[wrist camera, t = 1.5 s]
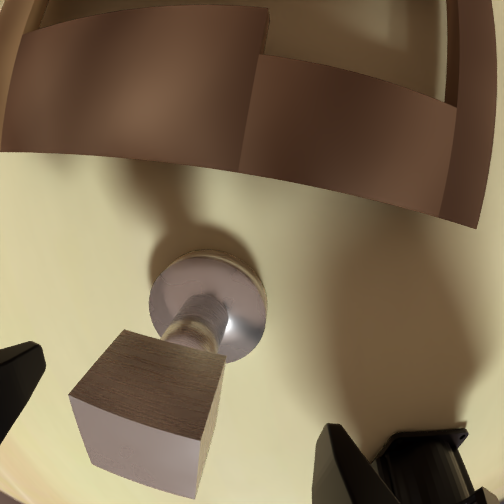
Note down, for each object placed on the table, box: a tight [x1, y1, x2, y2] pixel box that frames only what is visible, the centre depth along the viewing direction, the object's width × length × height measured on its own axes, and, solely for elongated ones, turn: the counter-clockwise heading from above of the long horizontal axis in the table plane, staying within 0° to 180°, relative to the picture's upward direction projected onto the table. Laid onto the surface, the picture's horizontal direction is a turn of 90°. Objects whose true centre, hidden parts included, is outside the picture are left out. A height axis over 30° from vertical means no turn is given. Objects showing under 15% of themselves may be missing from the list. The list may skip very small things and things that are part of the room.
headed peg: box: [68, 250, 267, 499], centre depth 10 cm, size 5×5×8 cm
